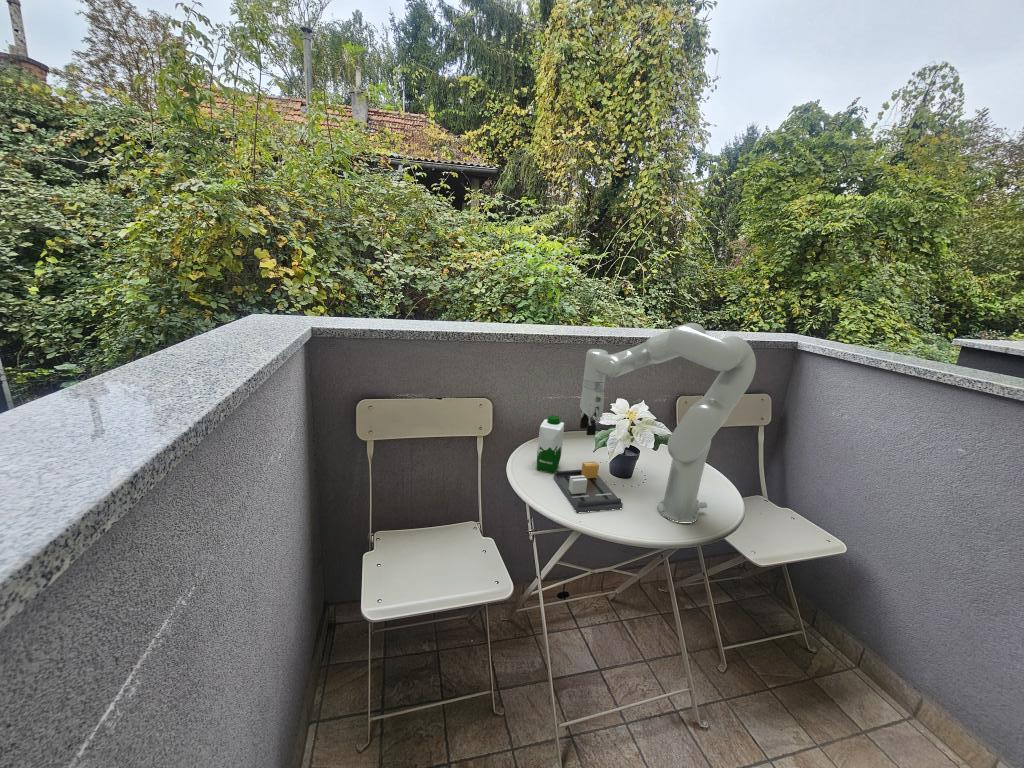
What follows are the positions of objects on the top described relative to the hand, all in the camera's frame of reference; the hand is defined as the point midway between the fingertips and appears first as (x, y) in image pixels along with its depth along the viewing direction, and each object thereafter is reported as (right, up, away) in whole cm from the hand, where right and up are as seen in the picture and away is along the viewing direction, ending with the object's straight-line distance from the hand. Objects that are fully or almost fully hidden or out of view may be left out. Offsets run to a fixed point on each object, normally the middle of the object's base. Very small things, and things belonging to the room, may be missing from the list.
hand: (587, 431), depth 161 cm
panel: (-2, -21, -8) cm, 22 cm away
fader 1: (-5, -19, -11) cm, 23 cm away
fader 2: (0, -16, -1) cm, 16 cm away
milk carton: (-14, -15, +8) cm, 22 cm away
